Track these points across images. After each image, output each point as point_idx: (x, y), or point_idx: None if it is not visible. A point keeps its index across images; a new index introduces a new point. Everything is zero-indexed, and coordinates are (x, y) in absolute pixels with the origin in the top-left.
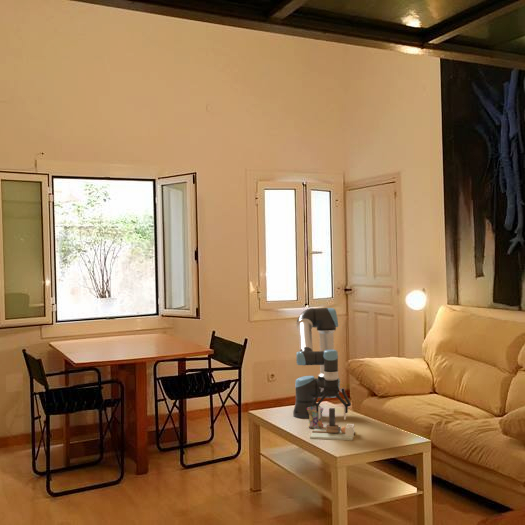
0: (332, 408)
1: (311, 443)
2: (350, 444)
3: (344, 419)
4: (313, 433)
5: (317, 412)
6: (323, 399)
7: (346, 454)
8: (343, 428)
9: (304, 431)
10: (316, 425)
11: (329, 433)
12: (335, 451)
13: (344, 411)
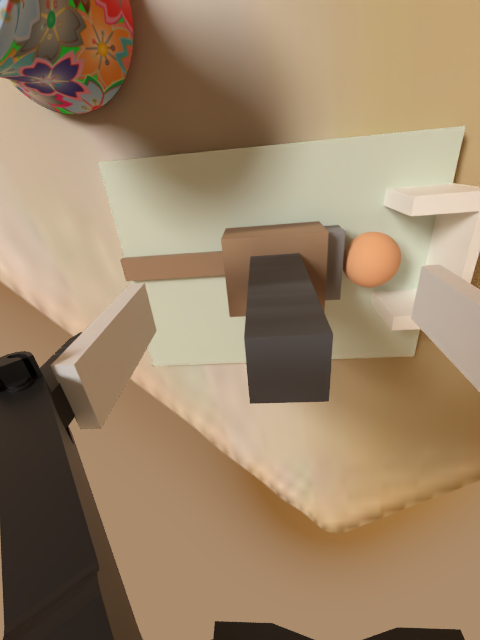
0: (295, 357)
1: (192, 425)
2: (391, 414)
3: (416, 318)
4: None
5: (1, 61)
6: (113, 562)
7: (366, 514)
8: (371, 286)
9: (47, 208)
10: (85, 97)
11: None
12: (320, 494)
13: (472, 374)
